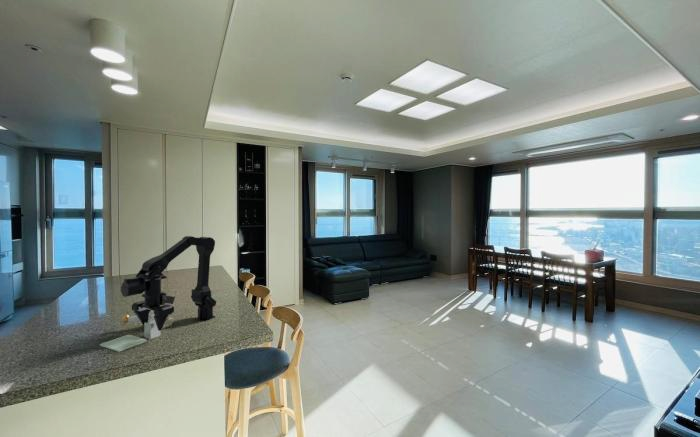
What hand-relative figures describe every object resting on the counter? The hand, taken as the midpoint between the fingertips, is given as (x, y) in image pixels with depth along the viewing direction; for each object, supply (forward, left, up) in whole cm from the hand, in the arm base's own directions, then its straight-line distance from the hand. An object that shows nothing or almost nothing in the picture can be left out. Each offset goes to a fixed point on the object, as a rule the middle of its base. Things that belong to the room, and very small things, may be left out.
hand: (152, 328), depth 121 cm
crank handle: (+12, -5, -1) cm, 13 cm away
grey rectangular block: (0, 0, -3) cm, 3 cm away
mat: (+3, +9, -3) cm, 10 cm away
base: (+9, -9, -3) cm, 13 cm away
